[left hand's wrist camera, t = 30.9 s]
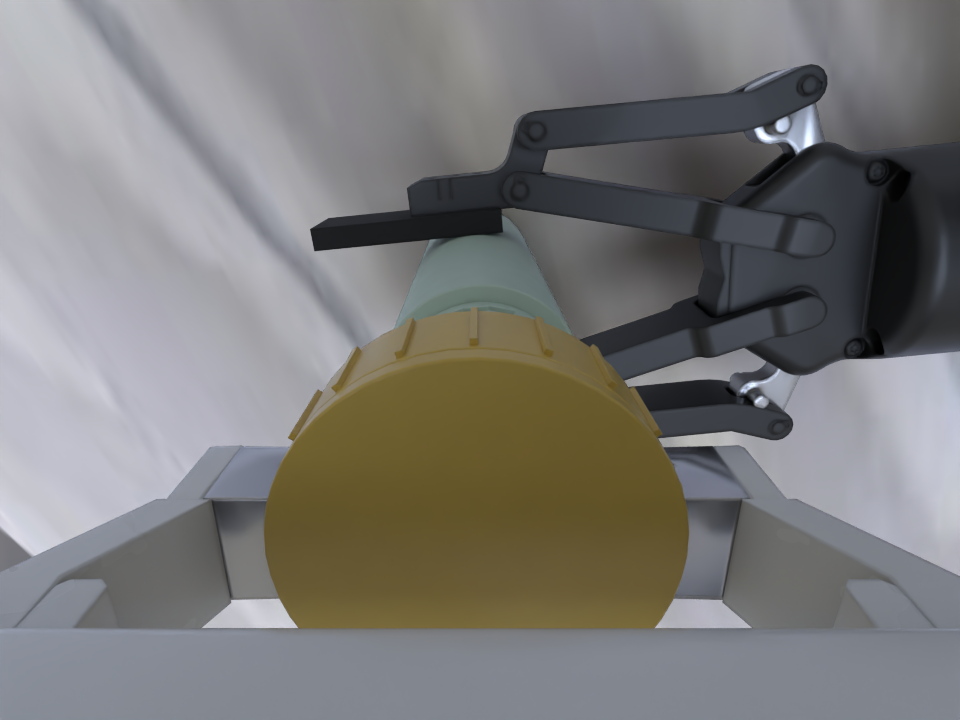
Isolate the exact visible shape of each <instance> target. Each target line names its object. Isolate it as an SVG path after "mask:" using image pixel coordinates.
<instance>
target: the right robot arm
mask: <svg viewBox="0 0 960 720" xmlns="http://www.w3.org/2000/svg"><path fill="white" fill-rule="evenodd" d="M826 87H827V75H826V73H825V71H824V70H823V69H822V68H821V67H820V66H818V65H812V64H810V65H805V66H800V67H794V68H789V69H784V70H780V71H775V72H771V73H768V74H766V75H764V76H762V77H760V78H757V79H755V80H753V81H751V82H749V83H747V84H745V85H743V86H741V87H739V88H736V89H734V90H732V91H730V92H728V93H724V94H713V95H703V96H692V97H681V98H671V99H660V100H649V101H639V102H628V103H617V104H607V105H596V106H585V107H574V108H564V109H553V110H542V111H534V112H530V113H527V114H524V115H522V116H521V117H520V118H519V119H517V121H516V123H515V125H514V131H513V135H512V139H511V143H510V146H509V150H508V154H507V157H506V159H505V161H504V162H503V163H502V164H501V165H500V166H499V167H498V168H496V169H494V170H491V171H484V172H474V173H464V174H455V175H445V176H435V177H426V178H423V179H421V180H419V181H417V182H415V183H414V184H412V185H410V186H409V187H408V188H407V192H408V199H409V207H410V210H405V211H395V212H385V213H376V214H366V215H356V216H346V217H336V218H328V219H326V220H325V221H323V222H321V223H320V224H318V225H316V226H315V227H313V228H311V229H310V231H311V236H312V241H313V246H314V251H321V250H331V249H341V248H351V247H361V246H371V245H381V244H391V243H401V242H412V241H422V240H432V239H442V238H452V237H462V236H471V235H482V234H492V233H502V232H503V224H502V212H501V209H505V208H516V209H522V210H528V211H534V212H541V213H547V214H553V215H560V216H566V217H572V218H579V219H585V220H591V221H598V222H604V223H610V224H617V225H623V226H629V227H636V228H642V229H648V230H655V231H661V232H667V233H674V234H680V235H686V236H692V237H696V238H700V249H701V253H702V257H703V261H704V271H703V274H702V277H701V281H700V284H699V291H698V295H697V296H694V297H691V298H688V299H685V300H682V301H679V302H677V303H675V304H674V305H673V306H672V307H671V308H670V309H669V310H666V311H663V312H660V313H657V314H654V315H651V316H648V317H645V318H643V319H640V320H637V321H634V322H631V323H628V324H625V325H622V326H619V327H616V328H613V329H610V330H607V331H604V332H601V333H598V334H595V335H592V336H589V337H586V338H583V339H581V340H580V341H581V342H583V343H584V344H586V345H587V346H589V347H591V346H592V344H594V345H595V346H597V347H598V349H599V351H600V352H601V354H602V356H603V358H604V359H605V360H606V361H607V362H608V363H609V364H610V365H611V366H612V367H613V368H614V370H615V371H616V372H617V373H618V374H619V376H620V377H621V378H622V379H623V380H627V379H630V378H633V377H636V376H639V375H642V374H646V373H649V372H652V371H655V370H658V369H661V368H664V367H667V366H670V365H673V364H676V363H679V362H682V361H685V360H688V359H691V358H695V357H705V358H711V357H717V356H720V355H723V354H726V353H729V352H732V351H735V350H739V349H742V348H745V349H747V350H749V351H750V352H752V353H754V354H755V355H757V356H758V357H760V358H762V359H763V360H765V361H766V363H765V365H764V366H763V367H762V368H761V369H759V370H757V371H754V372H743V373H734V374H733V375H732V376H731V377H730V382H728V381H722V380H694V381H684V382H674V383H664V384H654V385H644V386H635V389H636V390H637V392H638V394H639V395H640V397H641V399H642V400H643V402H644V404H645V405H646V407H647V409H648V410H649V412H650V414H651V415H652V417H653V419H654V420H655V422H656V424H657V425H658V427H659V429H660V430H661V432H662V435H661V436H659V437H658V438H666V437H676V436H686V435H696V434H706V433H716V432H727V431H733V432H738V433H742V434H747V435H751V436H756V437H760V438H765V439H769V440H779V439H783V438H784V437H786V436H787V435H788V434H789V433H790V432H791V430H792V427H793V421H792V419H791V417H790V416H789V415H788V414H787V413H786V412H785V411H784V409H785V407H786V405H787V403H788V400H789V398H790V396H791V394H792V392H793V390H794V388H795V386H796V383H797V381H798V379H799V377H800V376H801V375H808V374H812V373H814V372H817V371H819V370H820V369H822V368H824V367H825V366H827V365H829V364H832V363H834V362H837V361H840V360H844V359H882V358H893V357H904V356H914V355H925V354H936V353H946V352H957V351H960V142H953V143H943V144H934V145H924V146H914V147H904V148H895V149H885V150H875V151H865V152H853V151H850V150H848V149H846V148H844V147H843V146H841V145H838V144H835V143H830V142H825V140H824V136H823V132H822V128H821V124H820V119H819V115H818V111H817V107H816V103H815V102H817V101H818V100H820V98H821V97H822V96H823V94H824V93H825V90H826ZM742 131H744V133H745V135H746V137H747V138H748V139H749V140H750V141H752V142H754V143H764V144H772V143H776V144H778V145H779V146H780V147H781V148H782V150H783V154H781V155H780V156H779V157H778V158H776V159H775V160H774V161H773V162H771V163H770V164H769V165H768V166H767V167H765V168H764V169H763V170H762V171H760V172H759V173H758V174H757V175H755V176H754V177H753V178H752V179H750V180H749V181H748V182H747V183H746V184H744V185H743V186H742V187H741V188H739V189H738V190H737V191H736V192H734V193H733V194H732V195H731V196H729V197H728V198H727V199H726V200H718V199H712V198H706V197H700V196H694V195H687V194H678V193H671V192H665V191H659V190H653V189H647V188H640V187H634V186H628V185H622V184H616V183H610V182H603V181H597V180H591V179H585V178H579V177H573V176H566V175H560V174H554V173H548V172H542V170H543V166H544V163H545V159H546V155H547V152H548V150H552V149H562V148H573V147H584V146H595V145H606V144H617V143H628V142H639V141H650V140H661V139H671V138H682V137H693V136H704V135H715V134H726V133H735V132H742ZM628 388H629V389H630V388H632V387H628Z"/></svg>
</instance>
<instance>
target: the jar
mask: <svg viewBox="0 0 960 720" xmlns="http://www.w3.org/2000/svg"><path fill="white" fill-rule="evenodd" d="M502 224H503V232H502V233H492V234H482V235H471V236H462V237H452V238H442V239H432V240H430V241H429V243H428V246H427V248H426V251H425V253H424V256H423V258H422V260H421V263H420V265H419V268H418V270H417V273H416V275H415V278H414V280H413V283H412V285H411V288H410V290H409V293H408V295H407V298H406V300H405V303H404V305H403V308H402V310H401V313H400V315H399V318H398V320H397V323H396V325H395V328H394V329H396V328H398V327H400V326H402V325H404V324H405V323H406V320H407V319H409V318H412V317H413V318H414V321H416V320H420V319H423V318H426V317H429V316H435V315H440V314H446V313H451V312H465V311H471V307H478V311H489V312H502V313H508V314H513V315H518V316H523V317H528V318H531V319H534V320H535V318H536V316H538V317H541V318H543V320H544V323H546V324H549V325H552V326H554V327H556V328H558V329H560V330H562V331H564V332H566V333H568V334H570V335H572V336H573V334H572V332H571V330H570V328H569V326H568V324H567V322H566V320H565V318H564V316H563V314H562V312H561V310H560V308H559V307H558V305H557V303H556V301H555V299H554V297H553V295H552V293H551V291H550V289H549V287H548V285H547V283H546V281H545V279H544V277H543V275H542V273H541V271H540V269H539V267H538V265H537V263H536V261H535V259H534V258H533V256H532V254H531V252H530V250H529V248H528V246H527V244H526V242H525V240H524V238H523V236H522V234H521V233H520V231H519V230H518V228H517V227H516V226H515V225H514V224H513V223H512V222H511V221H510V220H509V219H508V218H506V217H505V216H503V215H502Z"/></svg>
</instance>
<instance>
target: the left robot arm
mask: <svg viewBox="0 0 960 720" xmlns="http://www.w3.org/2000/svg"><path fill="white" fill-rule="evenodd" d="M289 448H290V447H266V446H245V447H244V446H215V447H210V448H209V449H208V450H207V451H206V453H205V454H204V455H203V456H202V457H201V459H200V460H199V461H198V462H197V463H196V465H195V466H194V467H193V468H192V469H191V470H190V472H189V473H188V474H187V475H186V476H185V478H184V479H183V480H182V481H181V482H180V484H179V485H178V486H177V487H176V488H175V490H174V491H173V492H172V493H171V494H170V495H169V497H168V498H167V499H156V500H154V501H152V502H150V503H147V504H145V505H143V506H141V507H139V508H137V509H135V510H132V511H130V512H128V513H126V514H124V515H122V516H120V517H117V518H115V519H113V520H111V521H109V522H107V523H105V524H102V525H100V526H98V527H96V528H94V529H92V530H90V531H87V532H85V533H83V534H81V535H79V536H77V537H75V538H72V539H70V540H68V541H66V542H64V543H62V544H60V545H57V546H55V547H53V548H51V549H49V550H47V551H45V552H42V553H40V554H38V555H36V556H34V557H32V558H30V559H28V560H25V561H23V562H21V563H19V564H17V565H15V566H12V567H10V568H8V569H6V570H4V571H2V572H0V720H960V576H958V575H956V574H954V573H952V572H950V571H947V570H945V569H943V568H941V567H939V566H937V565H935V564H933V563H930V562H928V561H926V560H924V559H922V558H920V557H918V556H916V555H914V554H911V553H909V552H907V551H905V550H903V549H901V548H899V547H897V546H895V545H892V544H890V543H888V542H886V541H884V540H882V539H880V538H878V537H876V536H873V535H871V534H869V533H867V532H865V531H863V530H861V529H859V528H857V527H854V526H852V525H850V524H848V523H846V522H844V521H842V520H840V519H837V518H835V517H833V516H831V515H829V514H827V513H825V512H823V511H821V510H818V509H816V508H814V507H812V506H810V505H808V504H806V503H804V502H802V501H799V500H797V499H786V497H785V496H784V495H783V494H782V493H781V491H780V490H779V489H778V488H777V487H776V485H775V484H774V483H773V482H772V480H771V479H770V478H769V477H768V476H767V474H766V473H765V472H764V471H763V470H762V468H761V467H760V466H759V465H758V463H757V462H756V461H755V460H754V459H753V457H752V456H751V455H750V454H749V453H748V451H747V450H746V449H745V448H744V447H741V446H739V445H735V446H698V447H663V448H664V450H665V452H666V453H667V455H668V457H669V458H670V460H671V462H672V464H673V466H674V468H675V471H676V473H677V476H678V478H679V480H680V482H681V484H682V486H683V493H684V497H685V501H686V505H687V509H688V523H689V541H688V553H687V559H686V563H685V567H684V571H683V576H682V579H681V582H680V584H679V587H678V589H677V591H676V594H675V596H674V599H711V600H723V603H724V604H725V605H726V606H727V607H729V608H730V609H731V610H732V611H733V612H734V613H736V614H737V615H738V616H739V617H740V618H741V619H743V620H744V621H745V622H746V623H747V624H748V625H750V626H751V627H752V628H202V627H203V626H204V625H205V624H207V623H208V622H209V621H210V620H211V619H212V618H214V617H215V616H216V615H217V614H218V613H220V612H221V611H222V610H223V609H224V608H225V607H227V606H228V605H229V604H230V603H231V600H242V599H278V598H279V597H278V594H277V592H276V589H275V587H274V584H273V581H272V579H271V576H270V572H269V568H268V564H267V559H266V555H265V544H264V519H265V509H266V503H267V499H268V496H269V492H270V488H271V484H272V481H273V479H274V477H275V475H276V472H277V470H278V468H279V466H280V463H281V461H282V459H283V457H284V456H285V454H286V452H287V451H288V449H289Z"/></svg>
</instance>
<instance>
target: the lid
mask: <svg viewBox="0 0 960 720" xmlns="http://www.w3.org/2000/svg"><path fill="white" fill-rule="evenodd" d="M661 435H662V432H661V430H660V429H659V427H658V425H657V424H656V422H655V420H654V419H653V417H652V415H651V414H650V412H649V410H648V409H647V407H646V405H645V404H644V402H643V400H642V399H641V397H640V395H639V394H638V392H637V390H636V389H635V387H632V388H630V389H629V388H628V386H627V385H626V383H625V382H624V380H623V379H622V378H621V377H620V376H619V374H618V373H617V372H616V371H615V370H614V368H613V367H612V366H611V365H610V364H609V363H608V362H607V361H606V360H605V359H604V358H603V356H602V354H601V352H600V351H599V349H598V347H597V346H595V345H594V344H592V346H591V347H589V346H587V345H586V344H584V343H583V342H581V341H580V340H579V339H577V338H576V337H574V336H572V335H570V334H568V333H566V332H564V331H562V330H560V329H558V328H556V327H554V326H552V325H549V324H546V323H544V320H543V318H541V317H538V316H536V318H535V320H534V319H531V318H528V317H523V316H518V315H513V314H508V313H502V312H489V311H478V307H471V311H465V312H451V313H446V314H440V315H435V316H429V317H426V318H423V319H420V320H416V321H414V318H413V317H412V318H409V319H407V320H406V323H405V324H404V325H402V326H400V327H398V328H396V329H394V330H391V331H389V332H387V333H385V334H383V335H381V336H380V337H378V338H377V339H375V340H374V341H372V342H371V343H369V344H367V345H366V346H364V347H363V348H362V349H361V350H360V349H359V348H358V347H356V348H354V349H353V350H352V352H351V354H350V355H349V357H348V359H347V361H346V362H345V364H344V365H343V366H342V367H341V368H340V369H339V370H338V372H337V373H336V374H335V375H334V376H333V377H332V378H331V380H330V381H329V383H328V384H327V386H326V388H325V389H324V391H323V392H321V391H320V390H317V391H316V393H315V395H314V396H313V398H312V399H311V401H310V403H309V404H308V406H307V408H306V409H305V411H304V412H303V414H302V416H301V417H300V419H299V421H298V422H297V424H296V425H295V427H294V429H293V430H292V432H291V434H290V435H289V437H288V438H289V439H291V440H293V442H292V444H291V446H290V448H289V449H288V451H287V452H286V454H285V456H284V457H283V459H282V461H281V463H280V466H279V468H278V470H277V472H276V475H275V477H274V479H273V481H272V484H271V488H270V492H269V496H268V499H267V503H266V509H265V519H264V544H265V555H266V559H267V564H268V568H269V572H270V576H271V579H272V581H273V584H274V587H275V589H276V592H277V594H278V597H279V599H280V600H281V602H282V604H283V606H284V607H285V609H286V611H287V613H288V614H289V616H290V618H291V619H292V620H293V621H294V623H295V624H296V625H297V627H298V628H655V627H656V626H657V624H658V623H659V622H660V620H661V619H662V618H663V616H664V614H665V612H666V611H667V609H668V607H669V606H670V604H671V602H672V601H673V599H674V596H675V594H676V591H677V589H678V587H679V584H680V582H681V579H682V576H683V571H684V567H685V563H686V559H687V553H688V541H689V523H688V509H687V505H686V501H685V497H684V493H683V486H682V484H681V482H680V480H679V478H678V476H677V473H676V471H675V468H674V466H673V464H672V462H671V460H670V458H669V457H668V455H667V453H666V452H665V450H664V448H663V446H662V444H661V443H660V441H659V439H658V437H659V436H661Z"/></svg>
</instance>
